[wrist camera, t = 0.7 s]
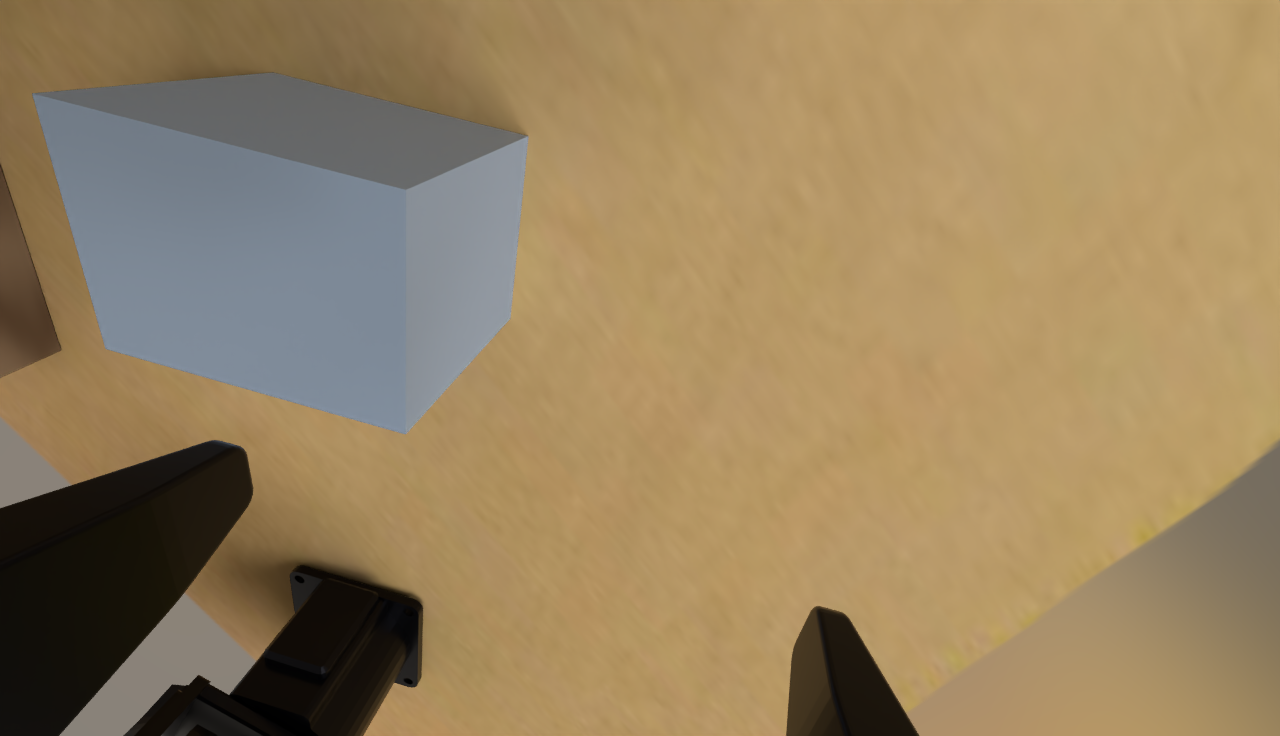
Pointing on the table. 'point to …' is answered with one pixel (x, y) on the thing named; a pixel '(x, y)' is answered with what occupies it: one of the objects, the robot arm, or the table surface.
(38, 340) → the board
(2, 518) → the robot arm
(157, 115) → the block
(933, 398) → the table surface
